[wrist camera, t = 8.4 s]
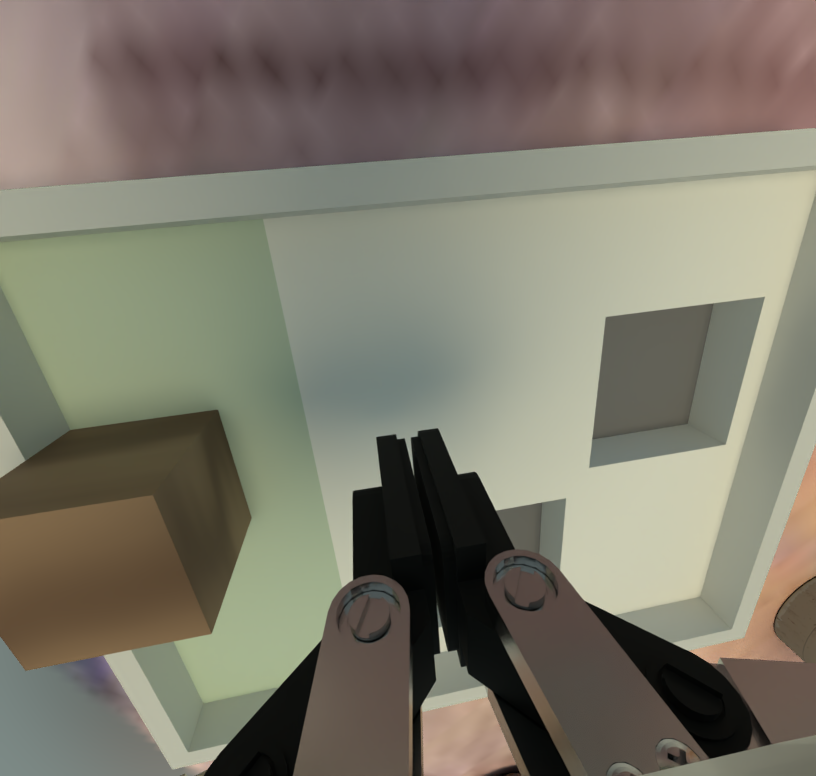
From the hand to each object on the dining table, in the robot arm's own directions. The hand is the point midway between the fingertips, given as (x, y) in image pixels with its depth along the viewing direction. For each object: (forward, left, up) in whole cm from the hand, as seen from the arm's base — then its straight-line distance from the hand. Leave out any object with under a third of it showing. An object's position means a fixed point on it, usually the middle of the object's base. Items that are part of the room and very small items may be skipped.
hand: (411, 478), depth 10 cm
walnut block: (+2, -9, -5) cm, 10 cm away
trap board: (+4, +3, -7) cm, 9 cm away
